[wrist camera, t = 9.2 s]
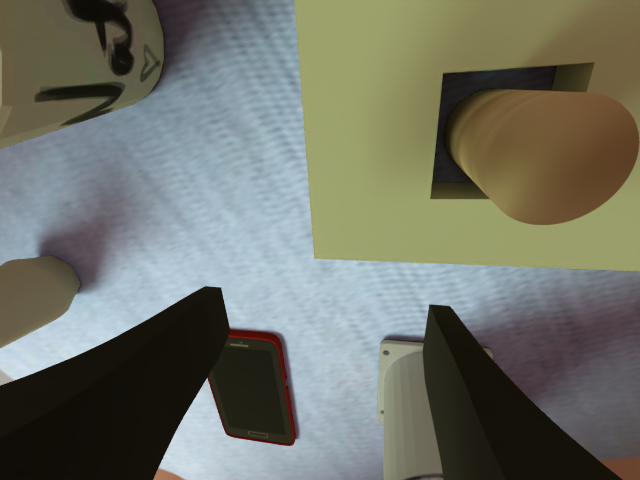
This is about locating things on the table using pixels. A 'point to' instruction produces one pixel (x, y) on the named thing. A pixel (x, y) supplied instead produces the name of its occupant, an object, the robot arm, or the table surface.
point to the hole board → (422, 121)
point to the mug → (73, 62)
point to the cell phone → (253, 389)
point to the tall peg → (543, 150)
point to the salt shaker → (33, 295)
